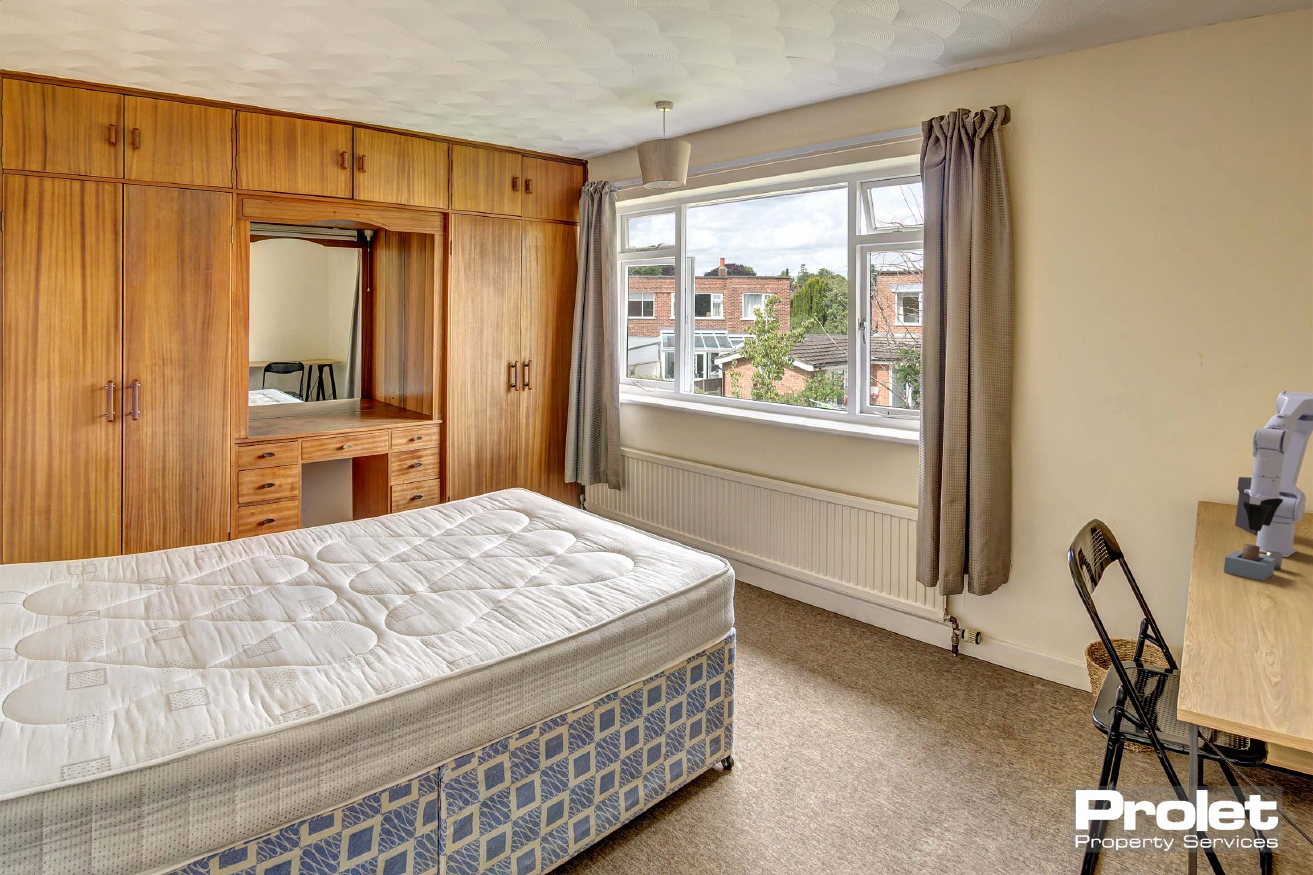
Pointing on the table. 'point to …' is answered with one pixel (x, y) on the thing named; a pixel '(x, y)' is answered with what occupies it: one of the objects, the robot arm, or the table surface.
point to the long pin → (1250, 552)
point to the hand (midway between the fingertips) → (1259, 527)
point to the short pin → (1277, 557)
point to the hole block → (1249, 566)
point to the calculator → (1241, 512)
